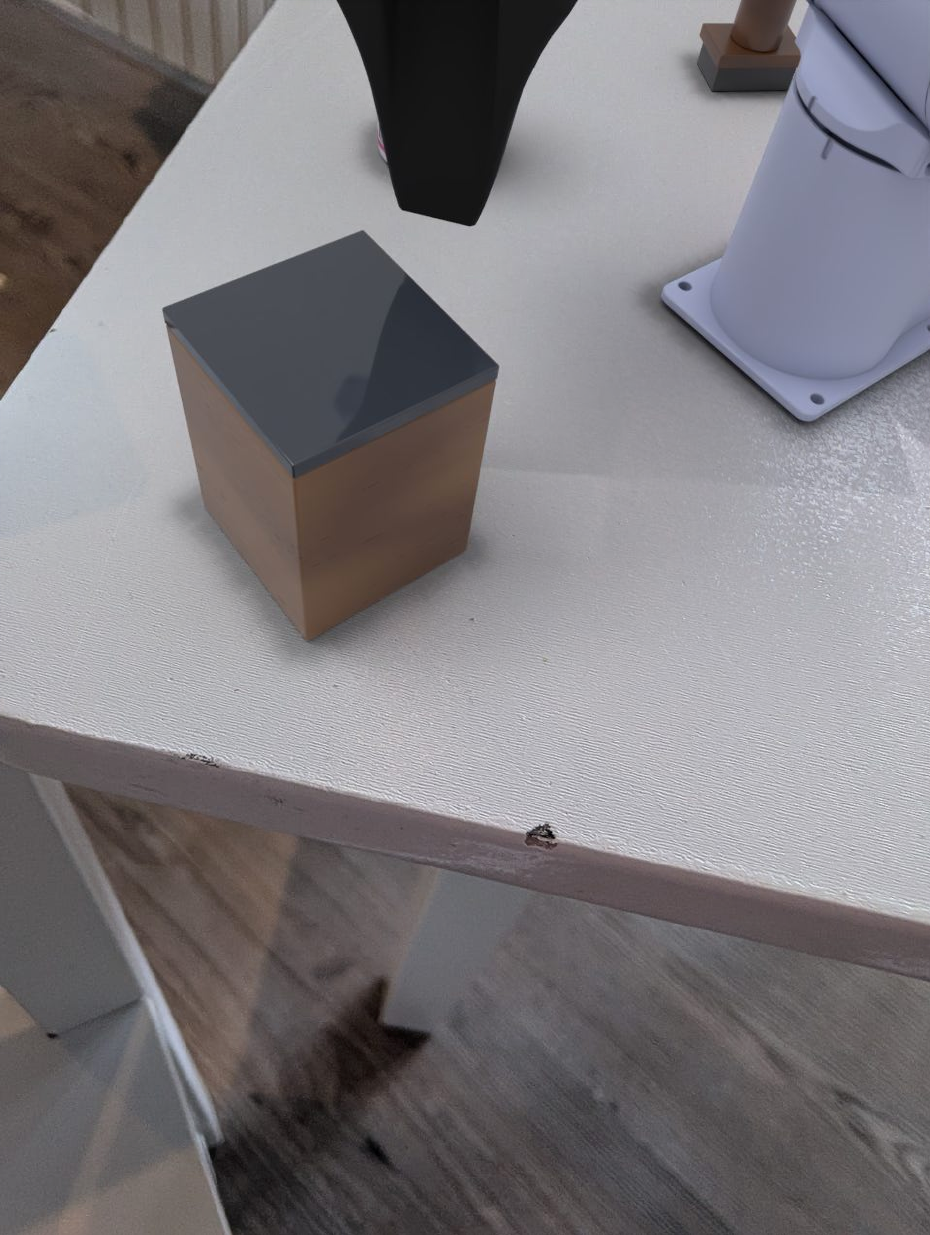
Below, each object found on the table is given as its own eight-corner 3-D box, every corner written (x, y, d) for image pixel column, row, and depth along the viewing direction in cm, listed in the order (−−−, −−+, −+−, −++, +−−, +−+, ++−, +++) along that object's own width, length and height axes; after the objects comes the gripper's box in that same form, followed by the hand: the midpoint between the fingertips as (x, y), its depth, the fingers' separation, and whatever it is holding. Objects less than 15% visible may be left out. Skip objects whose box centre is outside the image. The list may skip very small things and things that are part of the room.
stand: (360, 430, 33) (362, 244, 26) (467, 551, 31) (497, 379, 24) (203, 507, 30) (164, 322, 24) (306, 643, 28) (293, 480, 22)
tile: (362, 244, 26) (363, 228, 26) (497, 379, 24) (500, 365, 24) (164, 322, 24) (160, 307, 24) (293, 480, 22) (292, 466, 22)
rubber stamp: (773, 60, 48) (814, -51, 44) (793, 93, 47) (837, -19, 42) (691, 60, 47) (724, -52, 43) (709, 93, 46) (745, -20, 42)
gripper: (433, -784, 19) (403, -30, 30) (123, -715, 11) (240, 257, 23) (787, -715, 19) (620, 21, 30) (714, -594, 11) (529, 327, 23)
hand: (473, 127), depth 26 cm, fingers open, 7 cm apart
